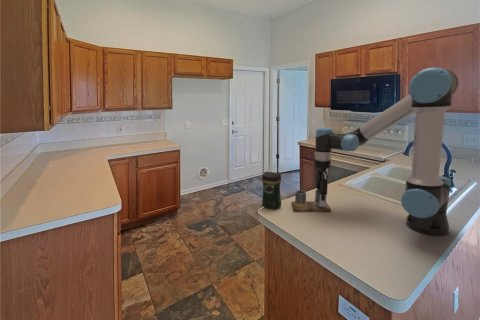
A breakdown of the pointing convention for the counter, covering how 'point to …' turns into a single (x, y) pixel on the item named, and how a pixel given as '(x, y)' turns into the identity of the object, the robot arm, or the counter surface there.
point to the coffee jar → (271, 190)
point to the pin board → (311, 207)
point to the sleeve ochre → (300, 198)
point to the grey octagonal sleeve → (318, 197)
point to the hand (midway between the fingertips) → (320, 203)
